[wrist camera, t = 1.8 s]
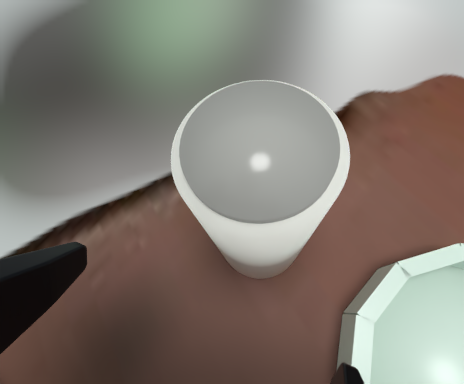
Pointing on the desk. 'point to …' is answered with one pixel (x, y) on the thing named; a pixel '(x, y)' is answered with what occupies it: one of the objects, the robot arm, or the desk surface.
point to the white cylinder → (260, 171)
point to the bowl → (409, 322)
